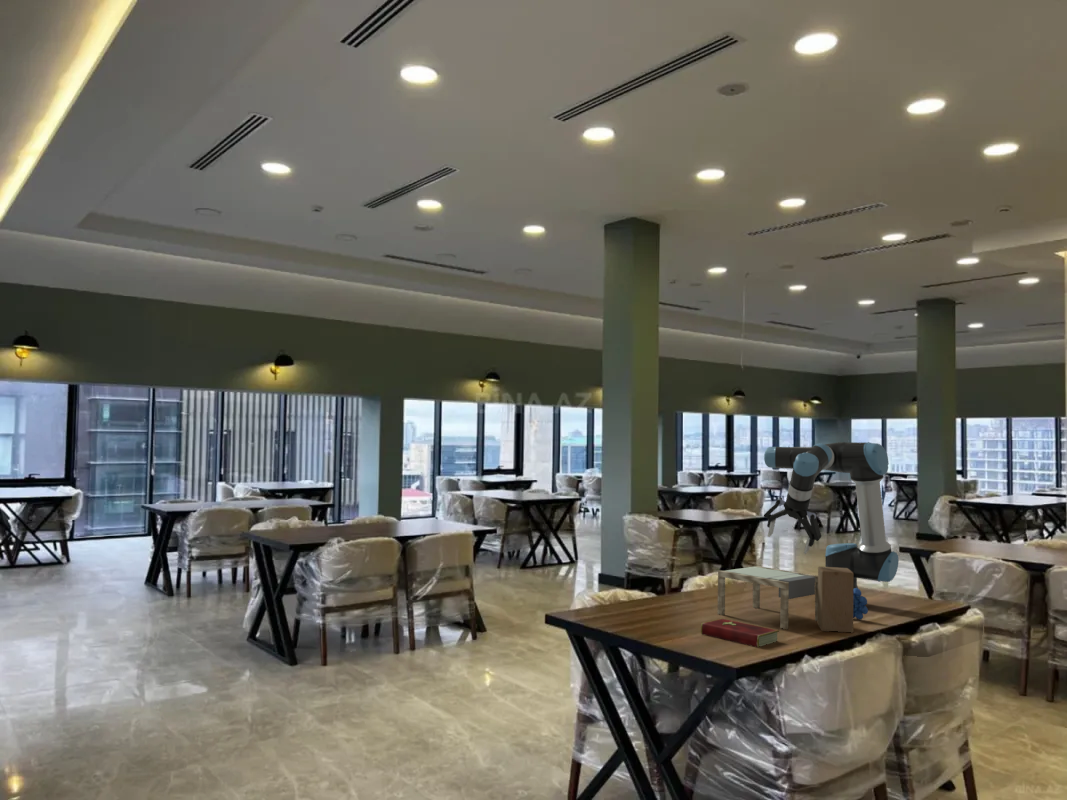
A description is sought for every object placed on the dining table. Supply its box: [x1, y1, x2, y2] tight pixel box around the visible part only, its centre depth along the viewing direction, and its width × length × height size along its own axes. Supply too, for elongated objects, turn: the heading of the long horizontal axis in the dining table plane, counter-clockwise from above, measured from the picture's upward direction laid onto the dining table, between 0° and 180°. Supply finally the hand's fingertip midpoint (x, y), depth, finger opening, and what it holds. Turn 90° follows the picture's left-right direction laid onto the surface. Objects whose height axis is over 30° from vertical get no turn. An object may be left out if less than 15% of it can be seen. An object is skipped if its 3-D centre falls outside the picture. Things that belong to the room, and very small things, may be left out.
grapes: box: [853, 587, 869, 621], centre depth 290 cm, size 12×7×12 cm, turn 43°
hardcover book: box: [700, 617, 780, 648], centre depth 258 cm, size 12×21×4 cm, turn 43°
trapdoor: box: [725, 566, 815, 600], centre depth 289 cm, size 26×19×6 cm
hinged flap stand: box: [717, 565, 818, 630], centre depth 289 cm, size 28×23×16 cm
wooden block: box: [817, 566, 854, 634], centre depth 274 cm, size 10×10×20 cm
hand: (788, 543), depth 286 cm, fingers open, 13 cm apart
